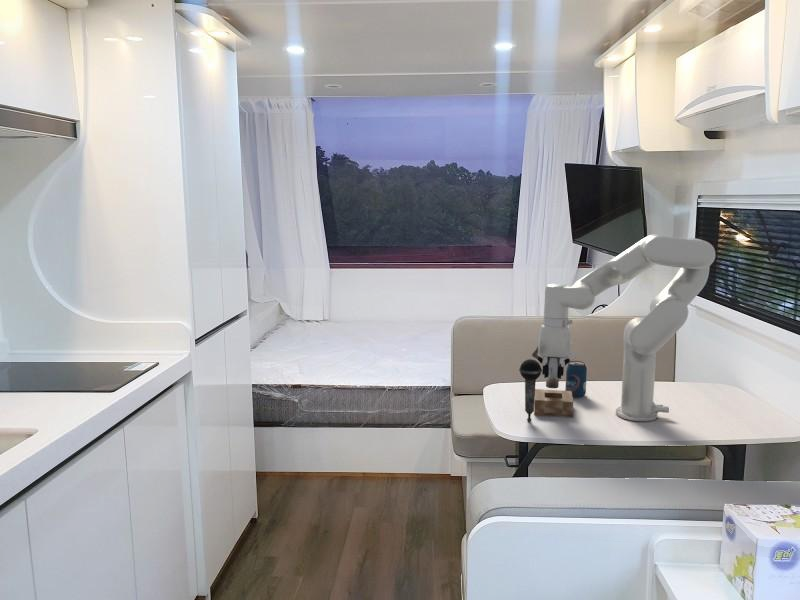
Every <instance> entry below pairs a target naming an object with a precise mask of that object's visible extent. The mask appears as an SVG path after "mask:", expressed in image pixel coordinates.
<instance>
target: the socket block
mask: <svg viewBox="0 0 800 600" xmlns="http://www.w3.org/2000/svg"><path fill="white" fill-rule="evenodd" d="M533 415H534V416H544V417H546V416H547V417H558V418H559V417H561V418H562V417H563V418H573V417H574V398H573V397H572V391H565V390H557V389H556V390H555V389H541V388H535V399H534V412H533Z"/></svg>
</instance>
